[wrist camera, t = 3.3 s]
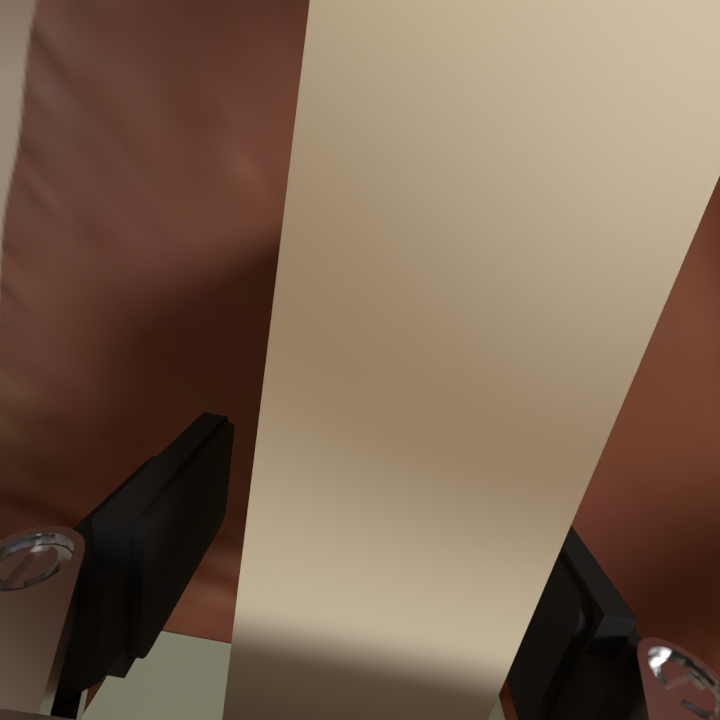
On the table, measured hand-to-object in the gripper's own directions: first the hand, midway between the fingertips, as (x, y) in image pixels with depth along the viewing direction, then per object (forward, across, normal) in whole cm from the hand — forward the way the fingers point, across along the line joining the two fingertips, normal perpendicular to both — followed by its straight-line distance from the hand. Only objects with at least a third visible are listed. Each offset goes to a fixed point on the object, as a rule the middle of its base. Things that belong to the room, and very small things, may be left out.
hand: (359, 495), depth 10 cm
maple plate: (+10, 0, 0) cm, 10 cm away
